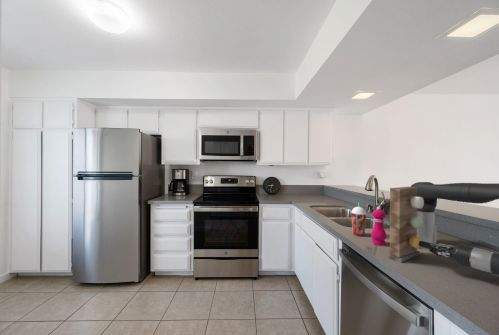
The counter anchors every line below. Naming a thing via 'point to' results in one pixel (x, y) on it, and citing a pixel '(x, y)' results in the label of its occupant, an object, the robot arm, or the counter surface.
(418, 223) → the sage button
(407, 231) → the walnut button panel
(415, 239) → the orange button
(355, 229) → the smoothie
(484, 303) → the counter surface
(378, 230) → the pepper mill
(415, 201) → the cream button
